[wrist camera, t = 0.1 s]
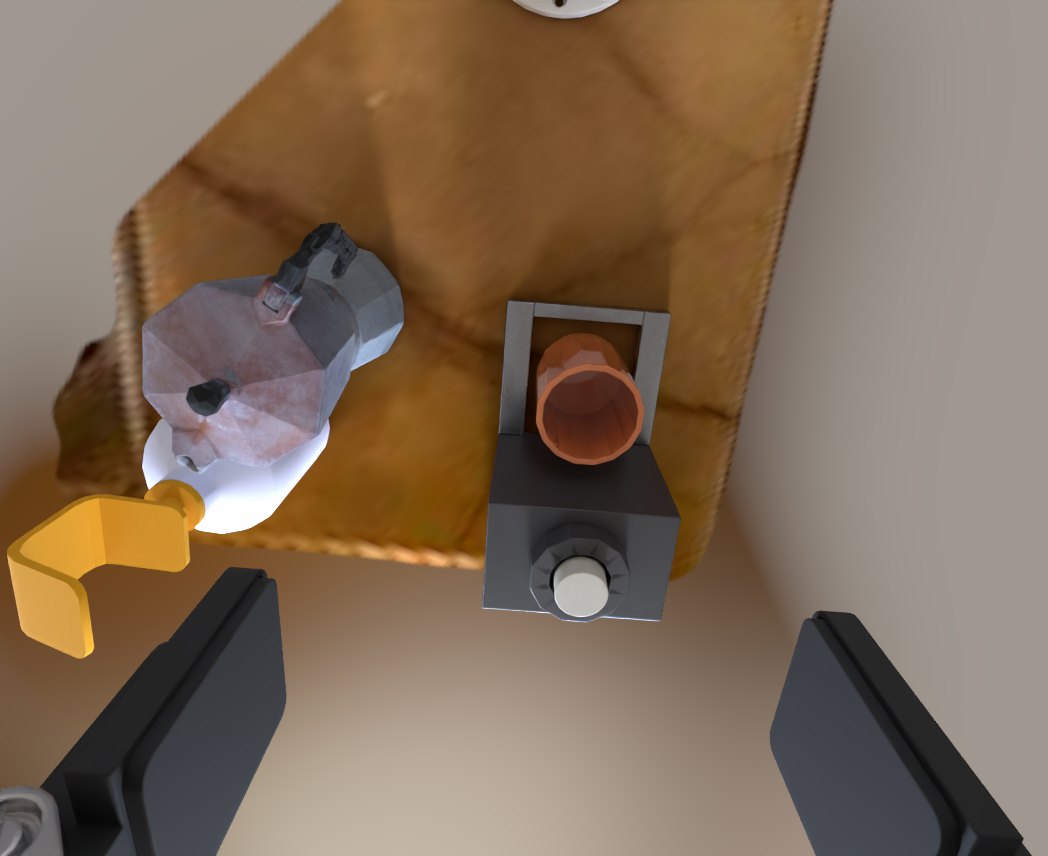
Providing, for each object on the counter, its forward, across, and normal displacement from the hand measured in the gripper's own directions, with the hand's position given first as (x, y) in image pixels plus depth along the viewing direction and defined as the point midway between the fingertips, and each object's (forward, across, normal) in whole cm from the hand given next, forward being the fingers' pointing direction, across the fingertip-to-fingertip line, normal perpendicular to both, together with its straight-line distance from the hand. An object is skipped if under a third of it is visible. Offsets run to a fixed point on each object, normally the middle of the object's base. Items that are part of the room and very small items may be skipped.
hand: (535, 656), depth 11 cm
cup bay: (+37, -4, +6) cm, 37 cm away
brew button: (+23, -4, +15) cm, 28 cm away
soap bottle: (+37, +20, +11) cm, 43 cm away
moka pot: (+37, +14, +1) cm, 39 cm away
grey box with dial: (+37, -4, +14) cm, 40 cm away
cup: (+37, -4, +6) cm, 37 cm away
